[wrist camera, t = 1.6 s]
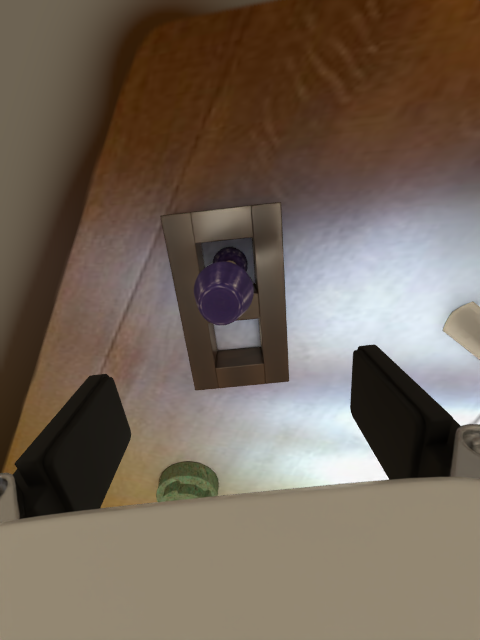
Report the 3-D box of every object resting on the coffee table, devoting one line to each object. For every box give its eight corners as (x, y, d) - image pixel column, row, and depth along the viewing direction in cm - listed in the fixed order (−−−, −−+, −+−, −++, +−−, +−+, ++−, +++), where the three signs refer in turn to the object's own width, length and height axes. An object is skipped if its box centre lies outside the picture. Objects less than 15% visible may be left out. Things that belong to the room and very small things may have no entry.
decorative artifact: (149, 487, 48) (198, 509, 50) (136, 531, 42) (192, 554, 44) (179, 452, 45) (229, 477, 47) (170, 494, 39) (228, 520, 41)
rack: (275, 202, 31) (281, 202, 27) (283, 363, 39) (289, 381, 35) (170, 214, 31) (160, 215, 27) (199, 371, 39) (195, 390, 35)
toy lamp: (202, 269, 34) (174, 321, 18) (219, 234, 32) (204, 258, 17) (237, 287, 35) (238, 350, 19) (255, 254, 33) (272, 294, 18)
